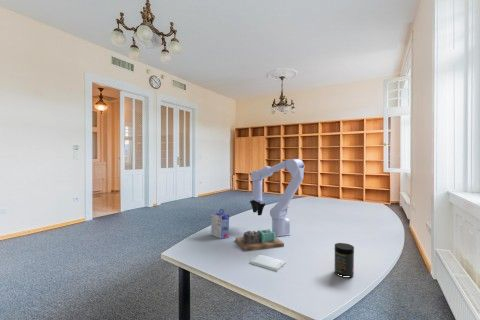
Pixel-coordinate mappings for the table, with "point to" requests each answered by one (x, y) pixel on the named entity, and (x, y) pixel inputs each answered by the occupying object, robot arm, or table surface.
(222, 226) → the ink cartridge box
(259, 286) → the table surface
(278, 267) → the hard drive
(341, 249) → the supplement container
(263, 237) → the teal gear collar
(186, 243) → the table surface
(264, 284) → the table surface
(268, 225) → the table surface
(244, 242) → the gear board
